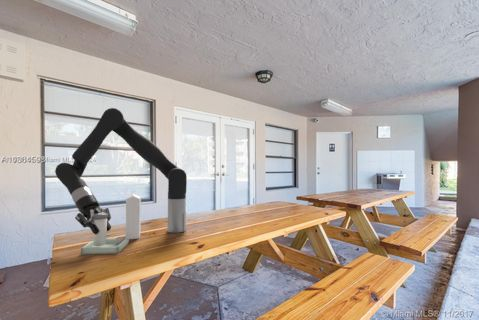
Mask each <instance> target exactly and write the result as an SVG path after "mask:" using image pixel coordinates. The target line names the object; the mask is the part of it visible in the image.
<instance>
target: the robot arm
mask: <svg viewBox="0 0 479 320" xmlns="http://www.w3.org/2000/svg"><path fill="white" fill-rule="evenodd" d="M111 132H114V133H115V134H116V135H117V136H119V137H120V138H122V139H123V140H124V141H125V142H126V144H128V146H129V147H130V148H131V149H132V150H133V151H134V152H135V153H136V154H137V155H139V156H140V157H141V158H142V159H143V160H144V161H146V162H147V163H148V164H150V165H151V166H153V167H154V168H156V169H157V170H158V171H160V173H162V175H164V176H165V178H166V179H167V181H168V188H167V189H168V190H167V232H168V233H173V234H174V233H175V234H177V233H178V234H179V233H183V232H186V229H187V211H186V199H187V197H186V196H187V195H186V194H187V183H188V182H187V177H188V176H187V173H186V171H185V170H183V169H182V168H180V167H178V166H177V165H175V164H174V163H173V162H172V161H170V160H169V159H168V158H167V156H165V154H164V153H163V152H162V150H161V149H160V148H159V147H158V146H157V145H156V144H155V143H154V142H153V141H152V140H151V139H149V138H148V137H147V136H145V135H144V134H142V133H141V132H139V131H137V130H135V129H134V128H133V126H131V124H130V123H128V122H127V120H126V119H125V117H124V115H123V112H122V111H121V110H119V109H118V108H115V107H110V108H107V109H106V110H105V111H104V112H103V113H102V115H101V117H100V119H99V120H98V122H97V124H96V125H95V127H94V128H93V130H92V131H91V132H90V133H89V134H88V136H87V137H86V138H85V139H84V140H83V142H81V144H80V145H79V146H78V147H77V148H76V150H75V151H74V152H73V153H72V154H71V158H72V159H73V160H74V162H73V164H72V163H68V162H61V163H59V164H57V166H56V167H55V171H54V172H55V175H56V178H57V179H58V180H59V181H60V182H61V183H62V184H63V185H64V187H65V188H66V189H67V190H68V193H69V194H70V196H71V198H72V199H71V200H72V201H73V203H74V204H75V206H76V208H77V210H78V213H77V214H76V215H75V217H74V218H75V220H76V221H77V222H78V223H79V224H80V225H81V226H82V227H83V228H84V229H85V228H89V229H90V230H91V232H92V234H93V235H94V234H95V235H96V234H98V233H99V229H98V228H97V226H96V225H95V224H94V219H93V215H94V214H97V213H108V217H107V232H109V231H110V230H111V229H112V225H111V224H110V222H109V221H110V220H111V219H112V216H111V213H110V209H109V208H108V207H106V208H102V207H100V204H99V202H98V199H97V198H96V196H95V195H94V193H93V192H92V190H91V189H90V188H89V186H88V184H87V182H86V181H85V180H84V179H83V178H81V177H82V176H83V174H84V172H85V169H86V168H87V165H88V163H89V161H90V160H91V159H92V158H93V157H94V156H95V155H96V153H97V152H98V150H99V149H100V148H101V146H102V144H103V142H104V141H105V139H106V138H107V137H108V135H109V134H110V133H111Z"/></svg>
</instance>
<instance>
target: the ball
mask: <svg viewBox="0 0 479 320" xmlns="http://www.w3.org/2000/svg"><path fill="white" fill-rule="evenodd" d="M116 238H117V239H116V240H115V243H116V244H117V245H119V244H120V243H121V242H122V241H123V239H122V238H123V237H121V236H120V237H116Z"/></svg>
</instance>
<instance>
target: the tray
mask: <svg viewBox="0 0 479 320" xmlns="http://www.w3.org/2000/svg"><path fill="white" fill-rule="evenodd" d="M117 238H118V237H112V238H111V237H110V238H109V237H107V244H106V245H103V246H93V240H92V241H90V242H88V243H87V244H85V245H84V246H81V248H80V256H81V255H82V256H83V255H106V254H107V255H108V254H109V255H112V254H113V255H117V254H119V253H120V252H122V250H124V248H126V247H127V246H128V245H129V244H130V239H129V238H126V237H121V238H122V239H123V241H122V242H121V243H120V244H119V245H117V244H116V243H115V240H116V239H117Z"/></svg>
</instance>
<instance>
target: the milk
mask: <svg viewBox="0 0 479 320" xmlns="http://www.w3.org/2000/svg"><path fill="white" fill-rule="evenodd" d="M141 205H142V197H141V196H139V195H137V194H135V191H132V195H129V196H128V197H127V198H126V199H125V238H129V240H135V239H136V240H137V239H140V238H141V225H142V224H141V218H142V217H141V216H142V215H141V212H142V211H141V209H142V208H141V207H142V206H141Z"/></svg>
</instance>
